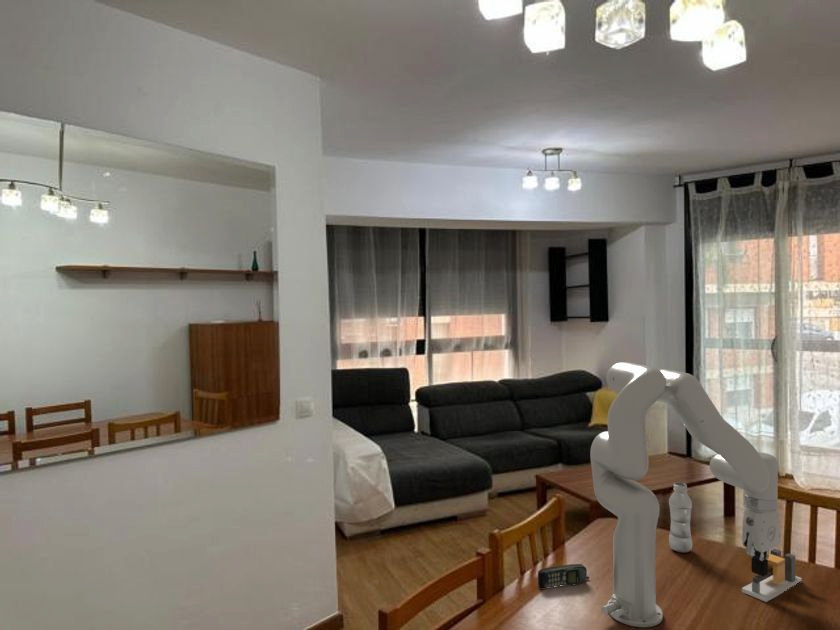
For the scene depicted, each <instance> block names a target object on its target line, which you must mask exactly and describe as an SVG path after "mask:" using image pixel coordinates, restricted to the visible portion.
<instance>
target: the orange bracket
mask: <svg viewBox="0 0 840 630" xmlns="http://www.w3.org/2000/svg"><path fill="white" fill-rule="evenodd" d="M767 560H768V570H769V569H771V568H773V583H775V584H778V583H780V582H782V581H784V580H785V557H784V558H783V557H782V556H781V557H778V556H775V555H772V554H771V553H769V558H768V559H767ZM766 579H767V578H766Z"/></svg>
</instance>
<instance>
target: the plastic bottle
mask: <svg viewBox="0 0 840 630" xmlns="http://www.w3.org/2000/svg"><path fill="white" fill-rule="evenodd" d="M673 491H674V492H672V494H671V495H670V497H669V499H668V506H669V513H670V529H669V530H670V531H669V535H668V543H669V546H670V548H671V550H673V551H675V552H678V553H689V552H690V551H691V550H692V548H693V539H692V538H693V537H692V535H691V515H692V514H691V513H692V510H693V509H692V508H693V502H692V499H691V498H690V496H689V494H688V486H687V484H686V483H684V482H680V481H679V482H673Z"/></svg>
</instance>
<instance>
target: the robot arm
mask: <svg viewBox="0 0 840 630" xmlns="http://www.w3.org/2000/svg"><path fill="white" fill-rule="evenodd" d="M606 384H607V386H608V387H609V389H610V390H611V391H612V392H613V393H615V394H617V395H616V397H615V398H614V399H613V401H612V403H611V404H610V407H609V409H608V411H607V412H608V413H607V430H606V431H605V430H604V431H602V432H600V433H598V435H596V436H595V437H594V439H593V441H592V443H591V446H590V450H589V452H590V465H591V466H590V467H591V475H592V483H593V491H594V495H595V497H596V500H597V502H598V503H599V504H600V505H601V506H602V507H603V508H604V509H606V510H608V511H609V512H610V513H612V514H613V515H614V516H616V517H617V524H616V526H615V529H614V530H613V531H614V532H613V537H612V548H613V549H612V552H613V553H612V558H613V560H612V561H613V562H612V563H613V565H612V567H613V569H612V570H613V571H612V574H613V584H612V585H613V594H611V595H610V596H611V598H610V599H608V601H607V603H606V605H603V606H601V609H600V610H601V613H602V614H603V615H604V616H607V615H610V617H612V618H613V619H615V620H616V621H617V622H619V623H620V624H621V623H622V624H625V625H627V626H630V627H635V628H637V627H638V628H651V627H655V626H658V625H659V624H660V623H661V622H663V620H664V619H663V616H664V613H663V610H662V608H661V607H660V606H659V605H658V604H657V603H656V599H657V598H656V593H657V592H656V584H657V583H656V534H657V533H656V532H657V525H658V522H659V517H660V502H659V499H658V498H657V496H656V495H655V494H654V492H653V491H652V490H650V489H649V488H648V487H647V486H645V485H644V484H642V483H639V481H637V480H641V479H642V478H644V477H645V476H646V474H647V473H648V471H649V461H650V460H649V452H648V451H649V450H648V442H647V441H648V440H647V431H646V430H647V429H646V421H647V415H648V413H649V411H650V409H651V408H652V407H653V405H654V404H655V403H656V402H657V401H658V402H662V403H665V404H668V405H670V406H671V407H672V409H673V411H674V412H675V413H676V415H677V416H678V418H679V419H680V420H681V423H682V424H683V426H684V427H685V429H686V430H687V431H688V433H689V435H691V437H692V438H693V439H695V440H697V442H699V444H701V445H702V446H705V447H706V448H708V449H709V450H711V451H713V452H714V453H715V454H716V455H714V456H713V457H712V458H711V459H710V462H709V471H710V473H711V475H713V476H714V477H715V478H716V479H718V480H719V481H721V482H722V483H725V484H728V485H729V486H730V485H731V486H733V487H736V488H738V489H741V490H742V491H743V492H742V496H743V497H742V500H743V501H742V503H743V504H742V505H743V508H744V509H743V517H742V524H741V526H742V531H741V542H742V543H741V544H742V546H743V547H745V548H746V552H745V553H746V555H748V556H750V557H751V572H752V573H753V574H755V575H757V576H758V575H761V576H765V575H767V574H768V560H767V559H768V558H769V554H770V551H771V550H773V549H775V548H776V547H777V546H779V545H780V544H781V529H780V528H781V527H780V515H779V511H778V503H779V502H778V500H779V499H778V496H779V495H778V494H779V493H778V490H779V489H778V488H779V487H778V486H779V485H778V484H779V481H778V480H779V477H778V476H779V470H778V469H779V461H778V458H777V457H776V456H774V455H773V454H769V453H766V452H760V451H759V452H758V450H757V448H755V446H753V444H752V443H751V442H750V441H749V440H747V438H746V437H744V436H743V435H742V434H741V433H740V432H739V431H738V430H737V429H736V428H735V427H733V426H732V425H731V424H729V422H727V421H726V420H725V419H724V418H723V416H722V415H721V414H720V412H719V410H718V409H717V407H716V406H715V404H714V403H713V401H712V400H711V398H710V396H709V394H708V393H707V392H706V390H705V389H704V387H703V386H702V383H700V381H699V380H698V379H697V377H695V376H694V375H693V374H691V373H687V372H684V371H678V370H673V369H667V368H660V367H653V366H650V365H645V364H641V363H640V364H638V363H633V362H629V361H621V362H620V361H619V362H616V363H614V364H613V365H612V366H610V368H609V369H608V371H607V373H606Z"/></svg>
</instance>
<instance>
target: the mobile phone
mask: <svg viewBox="0 0 840 630" xmlns="http://www.w3.org/2000/svg"><path fill="white" fill-rule="evenodd" d="M587 572H588V571H587V568H586V566H584V565H583V564H582V563H572V564H565V565H557V566H556V565H555V566H550V567H545V568H541V569H539V570H538V572H537V584H538V585H539V586H538V587H539V589H540V588H547V587H554V586H560V585H572V586H574V585H573V584H577V585H579V584H581V583H584V582H585V581H586V580H589V579H590V577H589V576H588V575H587Z"/></svg>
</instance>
